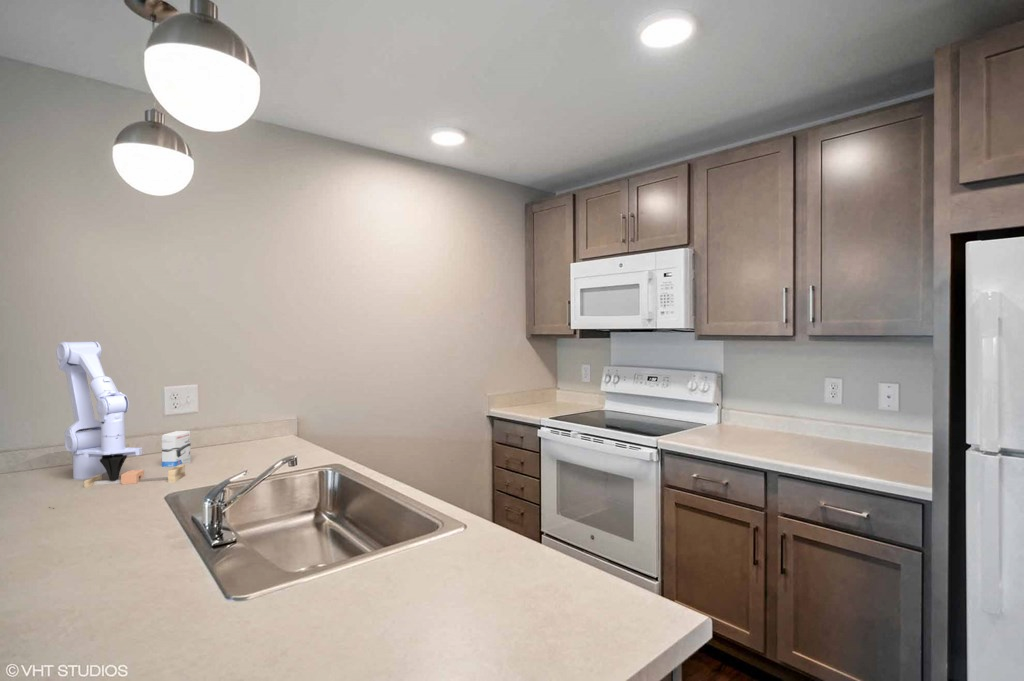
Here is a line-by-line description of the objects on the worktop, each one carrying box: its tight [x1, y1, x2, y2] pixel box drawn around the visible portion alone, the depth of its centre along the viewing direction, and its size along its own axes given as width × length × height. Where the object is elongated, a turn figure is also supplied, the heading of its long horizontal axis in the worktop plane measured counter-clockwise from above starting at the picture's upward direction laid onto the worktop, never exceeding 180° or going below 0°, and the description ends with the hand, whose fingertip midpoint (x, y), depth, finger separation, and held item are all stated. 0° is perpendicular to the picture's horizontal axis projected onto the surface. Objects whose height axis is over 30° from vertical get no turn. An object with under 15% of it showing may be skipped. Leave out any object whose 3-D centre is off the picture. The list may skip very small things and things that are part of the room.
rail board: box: [83, 464, 186, 489], centre depth 156 cm, size 7×24×4 cm, turn 102°
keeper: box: [120, 469, 145, 485], centre depth 156 cm, size 5×4×3 cm
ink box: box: [161, 430, 192, 468], centre depth 177 cm, size 8×5×12 cm, turn 179°
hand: (114, 479), depth 155 cm, fingers closed
